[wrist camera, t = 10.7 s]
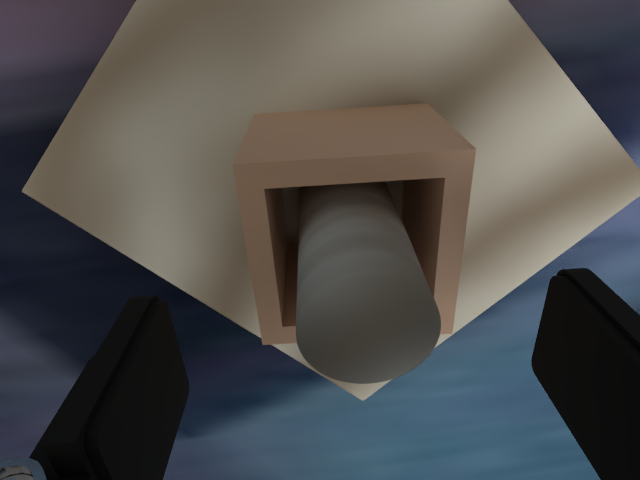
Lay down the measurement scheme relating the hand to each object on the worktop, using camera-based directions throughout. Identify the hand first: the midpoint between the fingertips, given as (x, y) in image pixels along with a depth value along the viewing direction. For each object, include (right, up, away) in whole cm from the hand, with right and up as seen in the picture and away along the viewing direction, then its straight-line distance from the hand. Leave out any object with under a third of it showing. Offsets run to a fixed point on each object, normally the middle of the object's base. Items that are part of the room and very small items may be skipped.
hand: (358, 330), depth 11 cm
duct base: (0, +5, +7) cm, 9 cm away
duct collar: (0, +4, +6) cm, 7 cm away
